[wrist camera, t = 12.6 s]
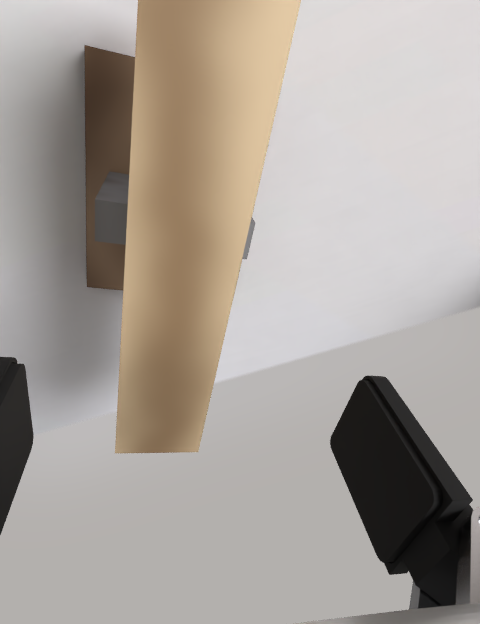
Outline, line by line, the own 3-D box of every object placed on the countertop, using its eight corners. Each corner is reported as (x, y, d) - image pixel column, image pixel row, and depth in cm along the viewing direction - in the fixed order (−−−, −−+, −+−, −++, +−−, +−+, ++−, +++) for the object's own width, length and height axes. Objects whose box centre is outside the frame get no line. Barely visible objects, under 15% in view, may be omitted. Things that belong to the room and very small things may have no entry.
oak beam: (267, -20, 16) (313, -59, 11) (191, 385, 28) (198, 452, 23) (150, -59, 15) (144, -121, 10) (123, 383, 27) (115, 453, 22)
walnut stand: (274, 91, 26) (312, 100, 19) (230, 291, 34) (246, 345, 27) (88, 46, 23) (58, 37, 16) (89, 278, 31) (69, 335, 24)
